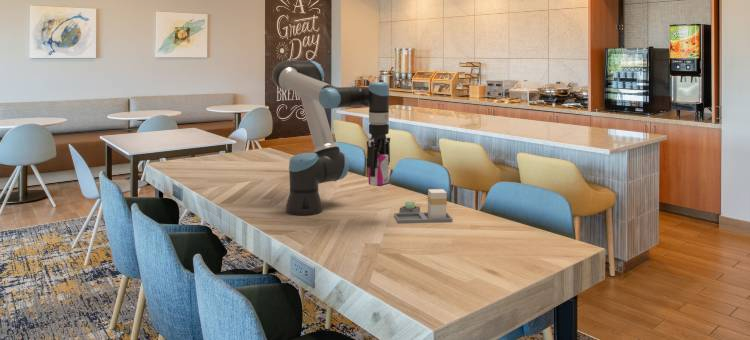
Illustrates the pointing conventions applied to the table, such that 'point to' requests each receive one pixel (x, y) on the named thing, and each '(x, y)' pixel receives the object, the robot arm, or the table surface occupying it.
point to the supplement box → (382, 170)
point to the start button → (409, 205)
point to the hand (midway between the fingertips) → (378, 183)
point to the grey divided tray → (419, 218)
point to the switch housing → (409, 210)
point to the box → (437, 203)
